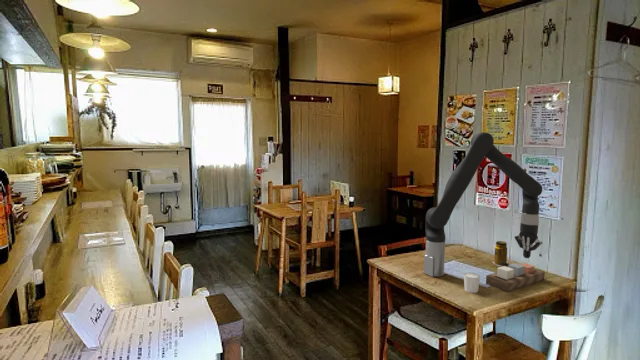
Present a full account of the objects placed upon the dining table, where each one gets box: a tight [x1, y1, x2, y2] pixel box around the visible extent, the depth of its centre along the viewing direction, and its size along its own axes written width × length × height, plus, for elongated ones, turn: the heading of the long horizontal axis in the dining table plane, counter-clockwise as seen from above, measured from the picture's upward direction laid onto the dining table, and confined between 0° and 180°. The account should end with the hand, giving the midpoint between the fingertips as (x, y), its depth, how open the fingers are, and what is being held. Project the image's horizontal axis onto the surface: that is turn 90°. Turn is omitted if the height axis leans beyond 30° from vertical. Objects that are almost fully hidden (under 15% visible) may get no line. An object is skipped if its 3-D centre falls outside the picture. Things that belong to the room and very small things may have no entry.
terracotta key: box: [519, 262, 535, 274], centre depth 184 cm, size 5×5×4 cm
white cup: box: [463, 272, 481, 294], centre depth 171 cm, size 7×7×7 cm
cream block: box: [496, 266, 514, 280], centre depth 176 cm, size 5×5×4 cm
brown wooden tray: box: [485, 268, 545, 293], centre depth 181 cm, size 28×11×4 cm, turn 120°
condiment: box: [490, 240, 511, 267], centre depth 205 cm, size 7×8×12 cm
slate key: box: [507, 262, 525, 276], centre depth 180 cm, size 5×5×4 cm
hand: (526, 257), depth 184 cm, fingers closed
